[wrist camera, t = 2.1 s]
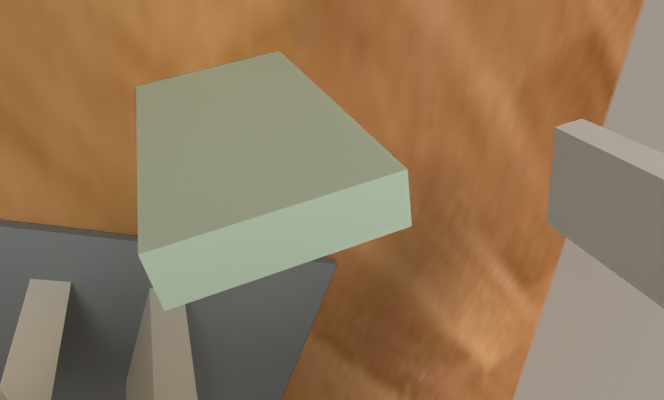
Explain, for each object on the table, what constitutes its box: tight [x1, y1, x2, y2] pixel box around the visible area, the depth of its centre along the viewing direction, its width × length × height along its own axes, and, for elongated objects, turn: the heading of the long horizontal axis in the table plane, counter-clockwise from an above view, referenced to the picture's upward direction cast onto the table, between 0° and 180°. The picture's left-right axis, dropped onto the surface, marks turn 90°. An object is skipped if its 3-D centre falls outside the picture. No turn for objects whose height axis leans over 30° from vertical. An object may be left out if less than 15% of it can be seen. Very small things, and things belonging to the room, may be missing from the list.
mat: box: [0, 220, 337, 400], centre depth 23 cm, size 27×11×1 cm, turn 69°
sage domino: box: [136, 51, 412, 311], centre depth 16 cm, size 2×6×12 cm, turn 100°
